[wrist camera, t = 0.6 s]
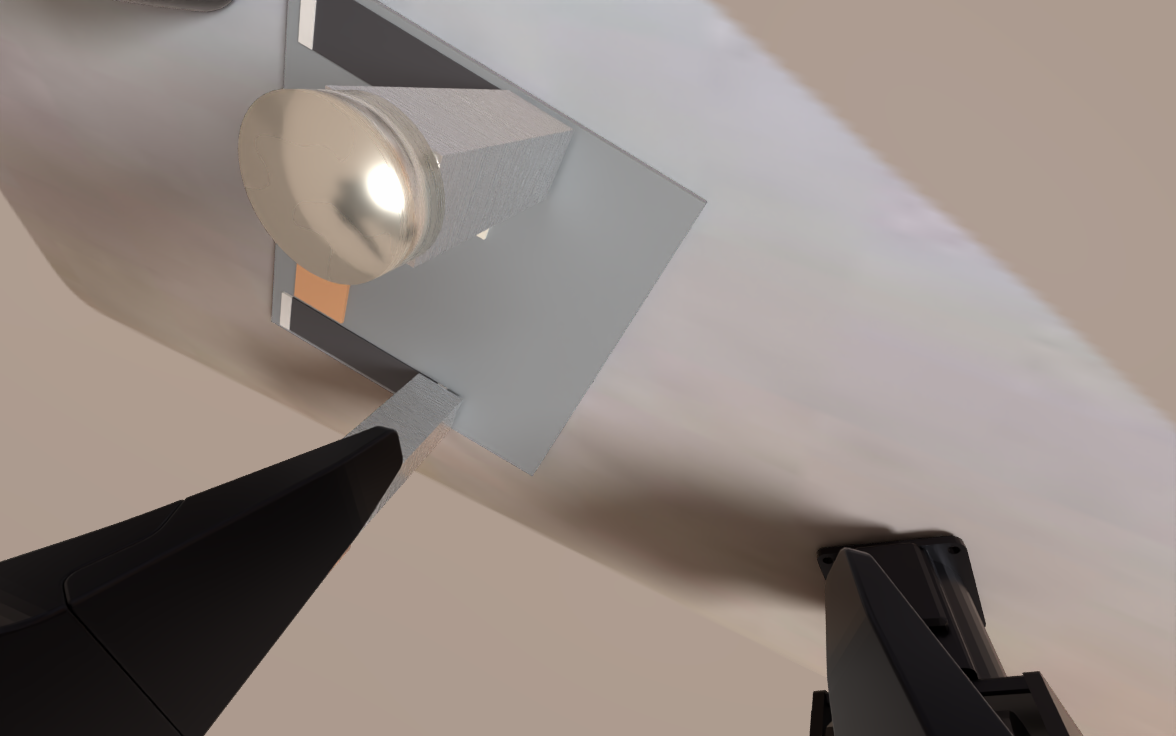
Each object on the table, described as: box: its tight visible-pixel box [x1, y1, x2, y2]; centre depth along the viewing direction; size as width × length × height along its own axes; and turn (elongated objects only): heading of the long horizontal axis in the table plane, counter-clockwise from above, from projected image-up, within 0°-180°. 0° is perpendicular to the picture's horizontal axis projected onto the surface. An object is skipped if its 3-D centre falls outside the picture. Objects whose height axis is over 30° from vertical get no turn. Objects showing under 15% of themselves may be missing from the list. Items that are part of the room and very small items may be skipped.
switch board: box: [271, 0, 707, 476], centre depth 22 cm, size 18×18×1 cm
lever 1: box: [238, 85, 574, 285], centre depth 13 cm, size 4×4×11 cm
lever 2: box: [331, 373, 462, 570], centre depth 22 cm, size 4×4×11 cm
